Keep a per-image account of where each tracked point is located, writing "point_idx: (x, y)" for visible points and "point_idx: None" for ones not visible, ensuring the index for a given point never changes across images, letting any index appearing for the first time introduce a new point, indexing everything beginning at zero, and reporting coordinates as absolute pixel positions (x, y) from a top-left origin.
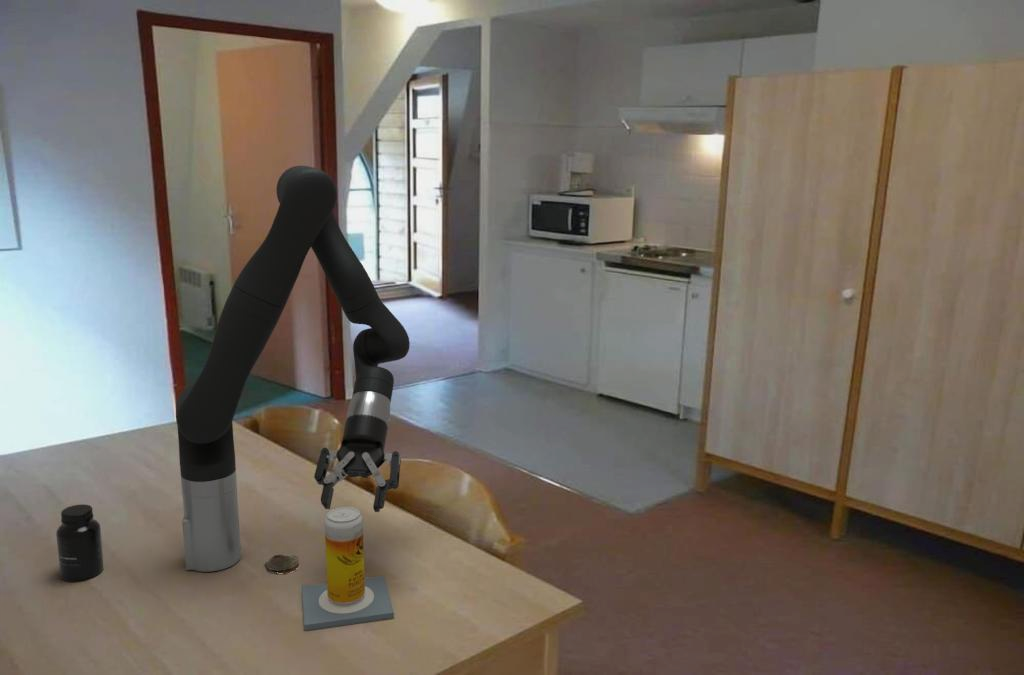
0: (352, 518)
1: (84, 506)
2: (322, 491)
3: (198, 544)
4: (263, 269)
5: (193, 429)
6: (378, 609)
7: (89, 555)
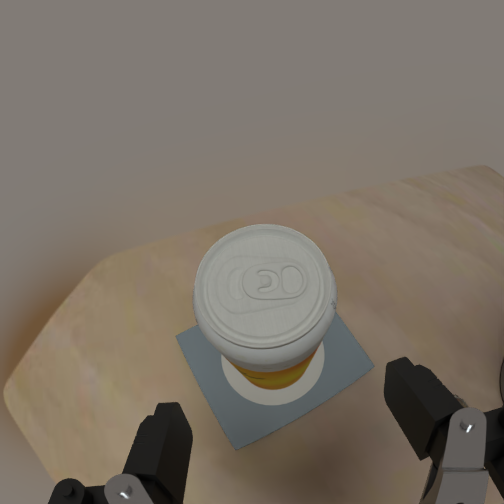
0: (216, 267)
1: None
2: (448, 391)
3: None
4: None
5: None
6: (202, 338)
7: None
